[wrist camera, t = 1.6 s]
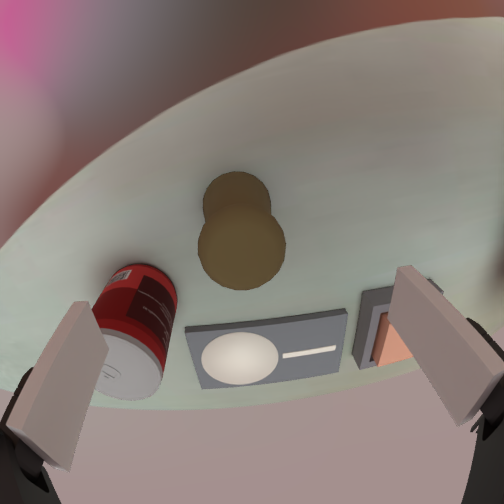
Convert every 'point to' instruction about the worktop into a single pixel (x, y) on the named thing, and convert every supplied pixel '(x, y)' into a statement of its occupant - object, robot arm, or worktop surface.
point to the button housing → (372, 323)
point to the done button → (388, 344)
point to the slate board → (267, 349)
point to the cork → (240, 233)
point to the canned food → (135, 331)
